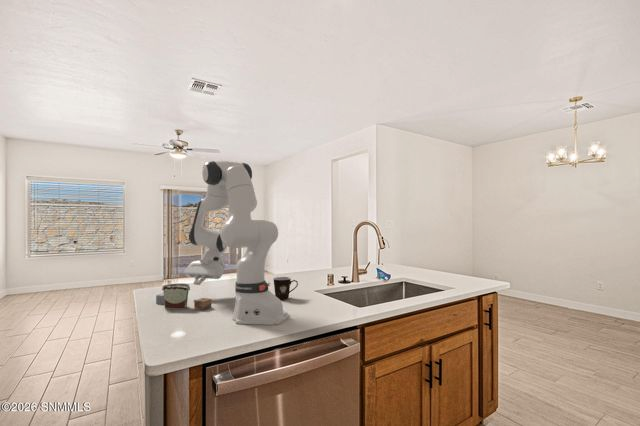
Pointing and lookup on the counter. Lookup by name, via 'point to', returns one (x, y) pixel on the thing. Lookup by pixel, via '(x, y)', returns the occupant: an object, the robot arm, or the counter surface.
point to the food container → (176, 295)
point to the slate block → (160, 298)
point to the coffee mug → (283, 287)
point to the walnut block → (202, 304)
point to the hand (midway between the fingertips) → (196, 284)
